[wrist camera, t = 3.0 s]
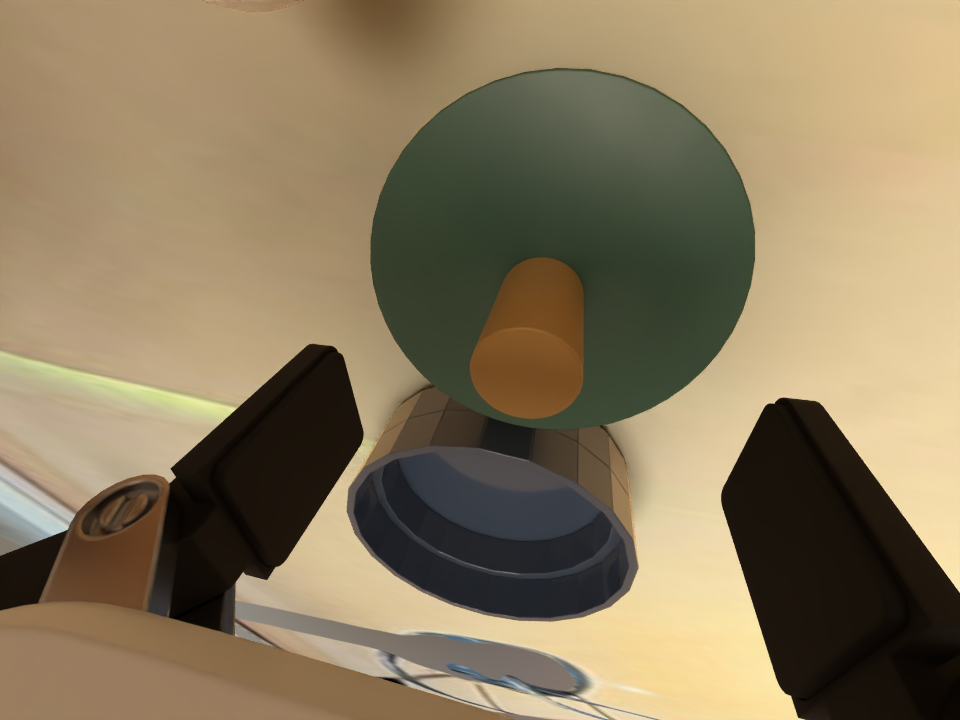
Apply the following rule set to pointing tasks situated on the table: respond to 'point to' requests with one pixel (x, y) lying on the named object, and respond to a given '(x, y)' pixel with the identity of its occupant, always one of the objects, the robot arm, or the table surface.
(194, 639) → the robot arm
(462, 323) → the tin lid
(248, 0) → the lightbulb
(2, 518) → the table surface
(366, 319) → the table surface
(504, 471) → the bowl
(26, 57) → the table surface
